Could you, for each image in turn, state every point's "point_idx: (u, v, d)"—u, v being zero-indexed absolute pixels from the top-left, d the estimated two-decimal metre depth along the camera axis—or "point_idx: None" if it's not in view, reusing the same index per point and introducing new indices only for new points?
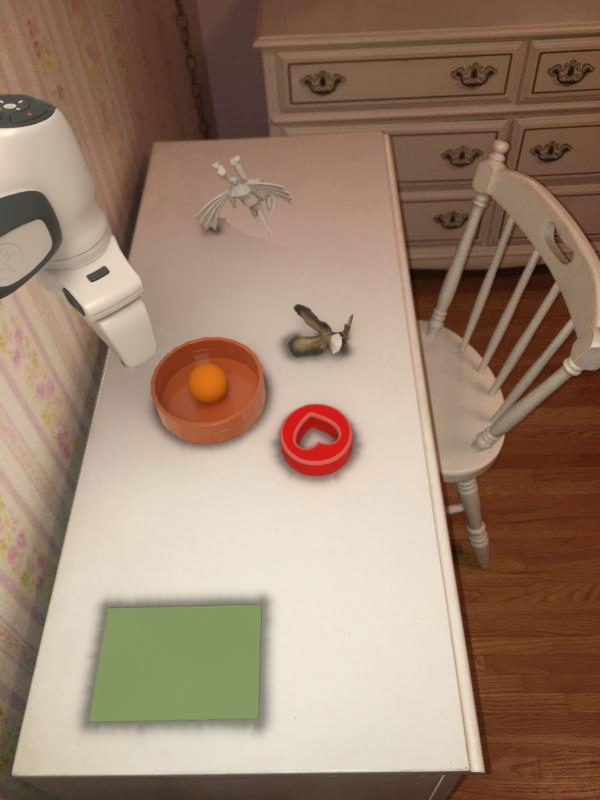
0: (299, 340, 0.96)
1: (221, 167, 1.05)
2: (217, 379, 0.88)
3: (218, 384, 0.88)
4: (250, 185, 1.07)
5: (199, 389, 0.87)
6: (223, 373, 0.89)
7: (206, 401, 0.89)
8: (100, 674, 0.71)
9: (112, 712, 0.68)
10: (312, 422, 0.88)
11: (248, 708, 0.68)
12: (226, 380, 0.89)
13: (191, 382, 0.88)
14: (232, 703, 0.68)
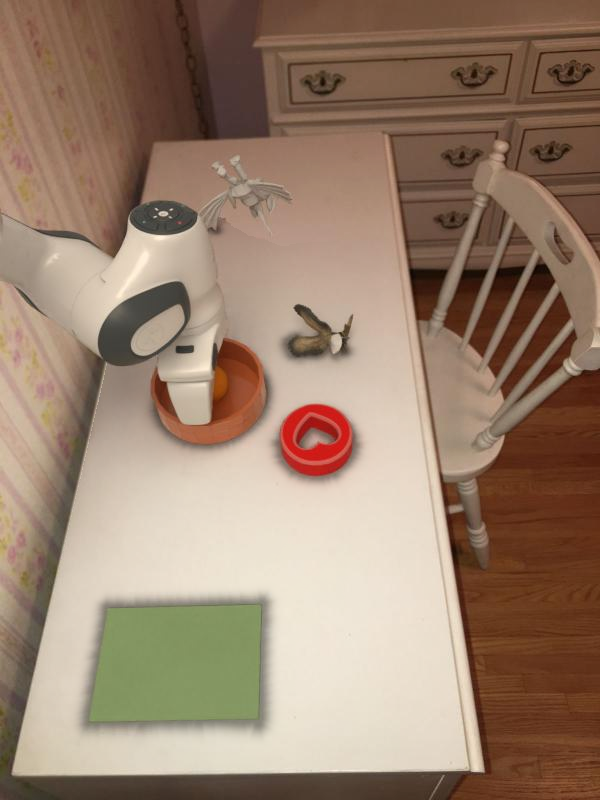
0: (299, 340, 0.96)
1: (221, 167, 1.05)
2: (217, 379, 0.88)
3: (218, 383, 0.88)
4: (250, 185, 1.07)
5: None
6: (223, 373, 0.89)
7: None
8: (100, 674, 0.71)
9: (112, 712, 0.68)
10: (312, 422, 0.88)
11: (248, 708, 0.68)
12: (226, 380, 0.89)
13: None
14: (232, 703, 0.68)
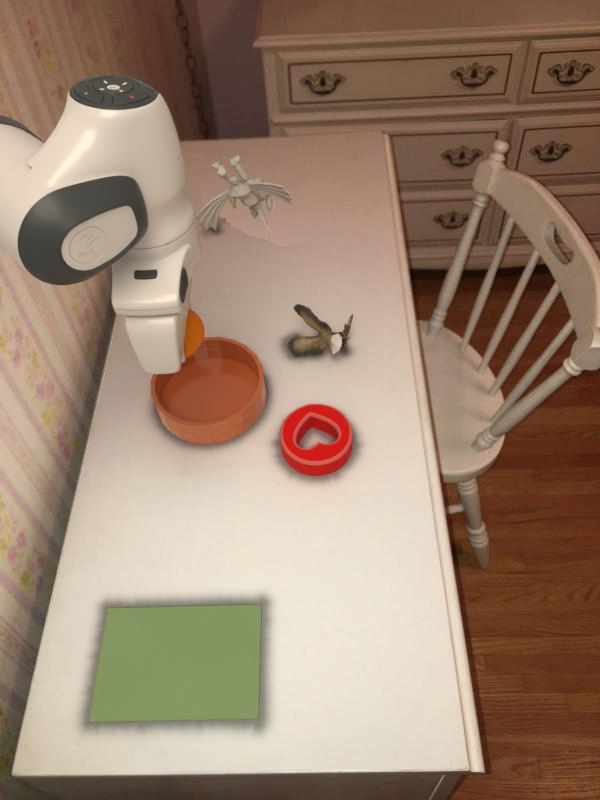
0: (299, 340, 0.96)
1: (221, 167, 1.05)
2: (191, 324, 0.73)
3: (191, 330, 0.73)
4: (250, 185, 1.07)
5: None
6: (198, 318, 0.74)
7: None
8: (100, 674, 0.71)
9: (112, 712, 0.68)
10: (312, 422, 0.88)
11: (248, 708, 0.68)
12: (202, 327, 0.74)
13: None
14: (232, 703, 0.68)
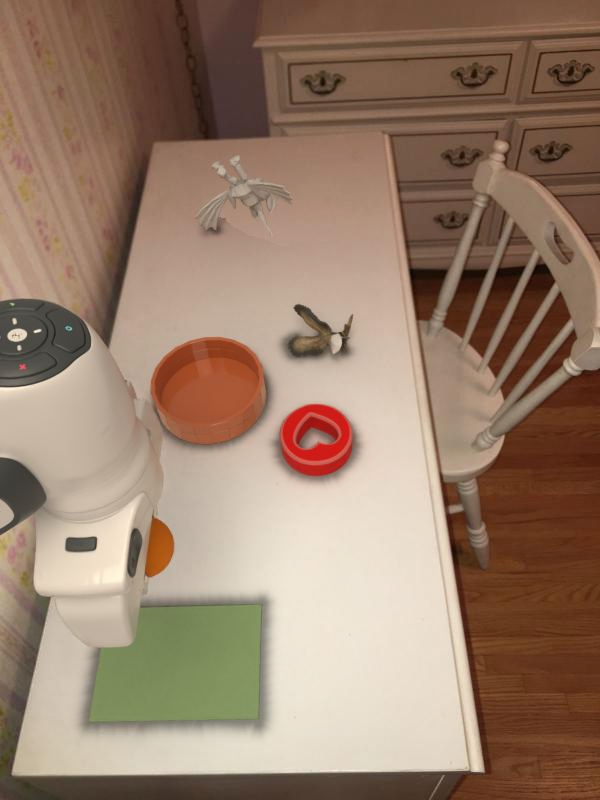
0: (299, 340, 0.96)
1: (221, 167, 1.05)
2: (155, 547, 0.56)
3: (156, 554, 0.56)
4: (250, 185, 1.07)
5: None
6: (165, 533, 0.58)
7: None
8: (100, 674, 0.71)
9: (112, 712, 0.68)
10: (312, 422, 0.88)
11: (248, 708, 0.68)
12: (170, 544, 0.58)
13: None
14: (232, 703, 0.68)
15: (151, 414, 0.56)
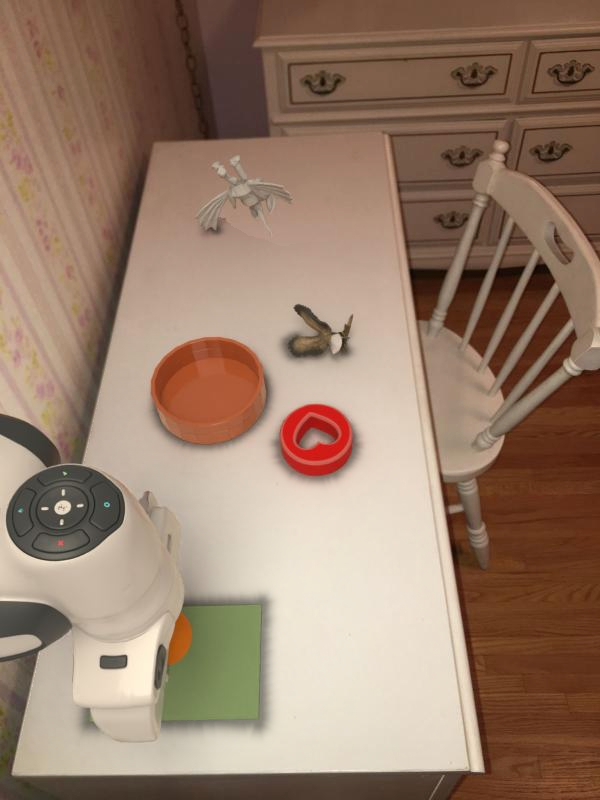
0: (299, 340, 0.96)
1: (221, 167, 1.05)
2: (175, 639, 0.62)
3: (176, 646, 0.62)
4: (250, 185, 1.07)
5: None
6: (184, 625, 0.64)
7: None
8: None
9: None
10: (312, 422, 0.88)
11: (248, 708, 0.68)
12: (189, 635, 0.64)
13: None
14: (232, 703, 0.68)
15: (171, 519, 0.62)
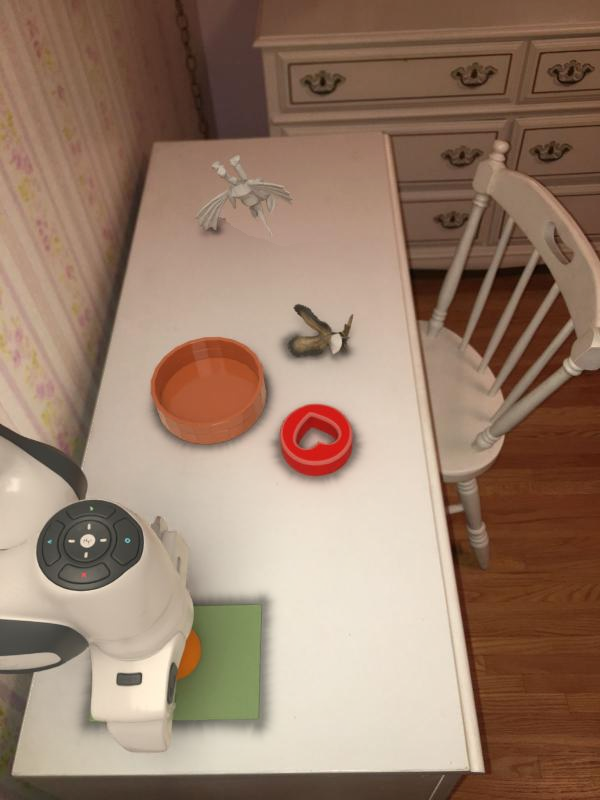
0: (299, 340, 0.96)
1: (221, 167, 1.05)
2: (185, 655, 0.67)
3: (186, 661, 0.67)
4: (250, 185, 1.07)
5: None
6: (194, 641, 0.68)
7: None
8: None
9: None
10: (312, 422, 0.88)
11: (248, 708, 0.68)
12: (198, 650, 0.68)
13: None
14: (232, 703, 0.68)
15: (180, 542, 0.66)
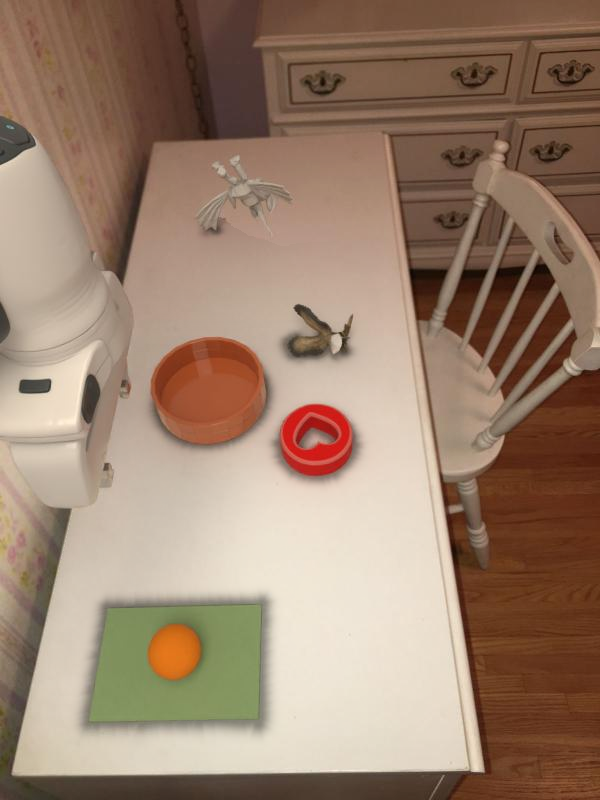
0: (299, 340, 0.96)
1: (221, 167, 1.05)
2: (185, 655, 0.67)
3: (186, 661, 0.67)
4: (250, 185, 1.07)
5: (161, 669, 0.66)
6: (194, 641, 0.68)
7: (172, 679, 0.68)
8: (100, 674, 0.71)
9: (112, 712, 0.68)
10: (312, 422, 0.88)
11: (248, 708, 0.68)
12: (198, 650, 0.68)
13: (151, 657, 0.67)
14: (232, 703, 0.68)
15: (119, 289, 0.55)
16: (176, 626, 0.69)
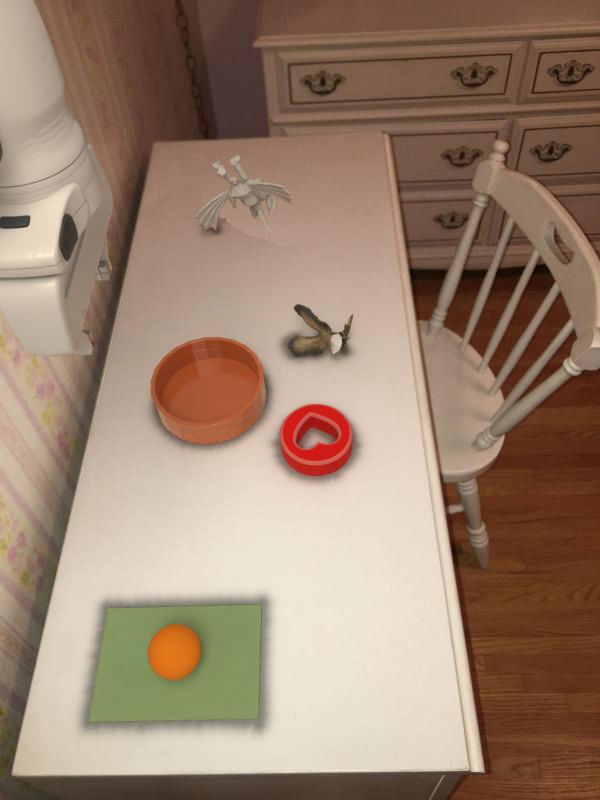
0: (299, 340, 0.96)
1: (221, 167, 1.05)
2: (185, 655, 0.67)
3: (186, 661, 0.67)
4: (250, 185, 1.07)
5: (161, 669, 0.66)
6: (194, 641, 0.68)
7: (172, 679, 0.68)
8: (100, 674, 0.71)
9: (112, 712, 0.68)
10: (312, 422, 0.88)
11: (248, 708, 0.68)
12: (198, 650, 0.68)
13: (151, 657, 0.67)
14: (232, 703, 0.68)
15: (98, 165, 0.58)
16: (176, 626, 0.69)
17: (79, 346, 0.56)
